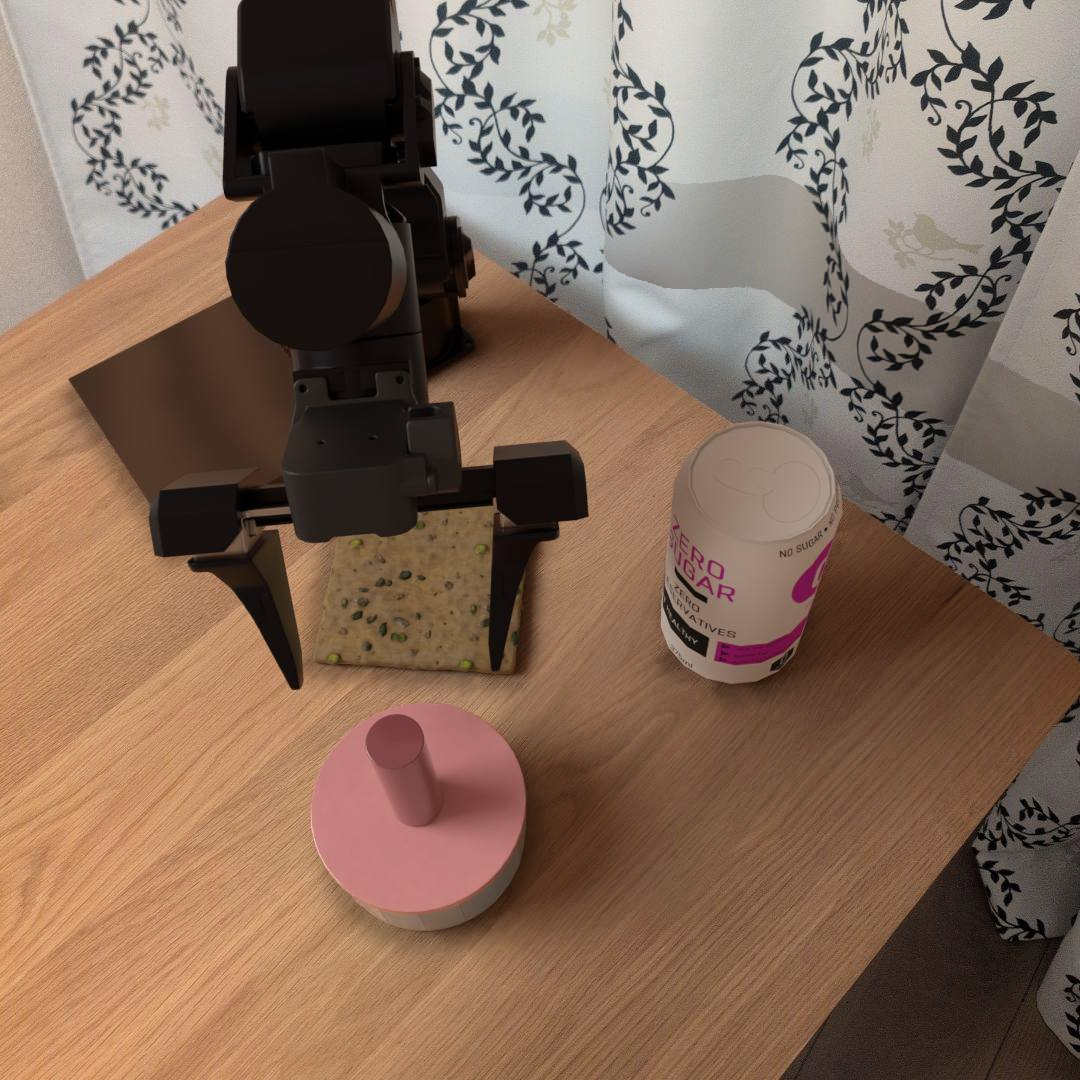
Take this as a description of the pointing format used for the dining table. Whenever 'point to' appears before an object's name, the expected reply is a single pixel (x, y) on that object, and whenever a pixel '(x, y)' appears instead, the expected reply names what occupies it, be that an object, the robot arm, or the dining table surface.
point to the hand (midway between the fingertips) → (396, 678)
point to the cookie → (416, 597)
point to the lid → (418, 808)
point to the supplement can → (746, 549)
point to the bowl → (460, 911)
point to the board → (194, 400)
